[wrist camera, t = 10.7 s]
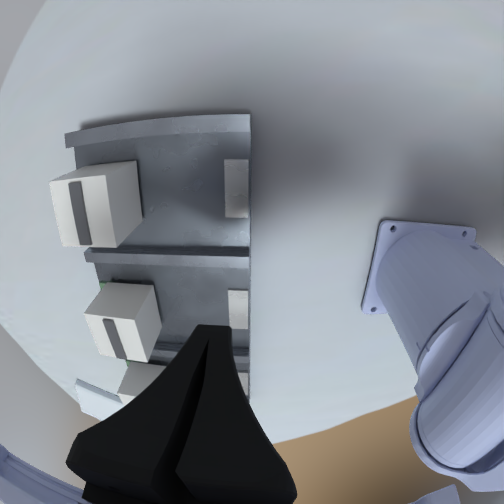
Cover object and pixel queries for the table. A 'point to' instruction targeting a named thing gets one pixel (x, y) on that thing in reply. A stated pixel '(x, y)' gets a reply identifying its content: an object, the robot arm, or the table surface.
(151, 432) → the robot arm
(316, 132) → the table surface
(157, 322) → the block
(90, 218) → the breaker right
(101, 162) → the panel
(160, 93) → the table surface
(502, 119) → the table surface
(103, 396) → the external hard drive
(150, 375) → the breaker
